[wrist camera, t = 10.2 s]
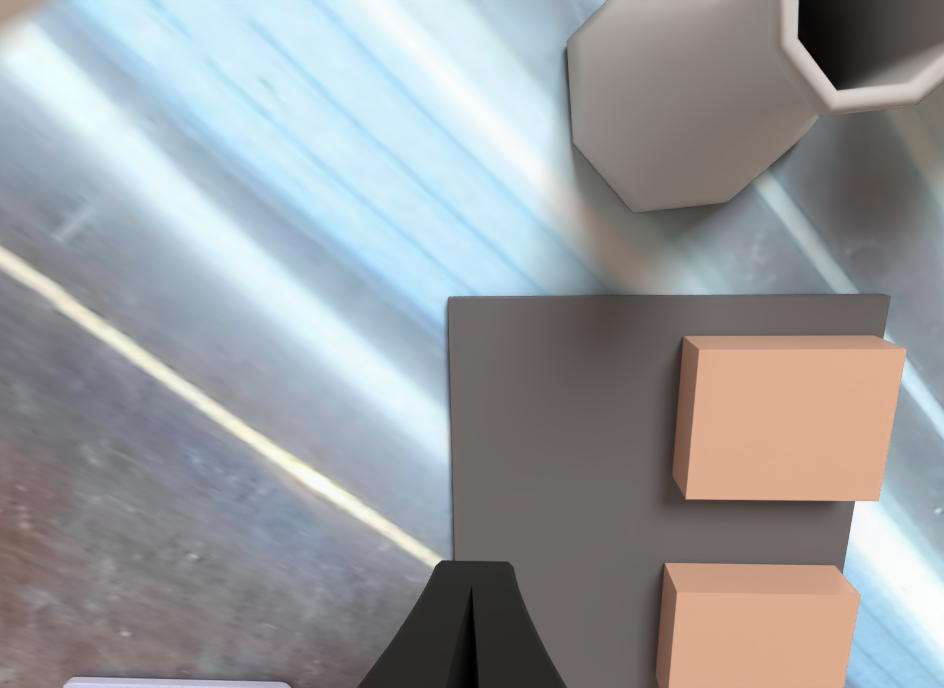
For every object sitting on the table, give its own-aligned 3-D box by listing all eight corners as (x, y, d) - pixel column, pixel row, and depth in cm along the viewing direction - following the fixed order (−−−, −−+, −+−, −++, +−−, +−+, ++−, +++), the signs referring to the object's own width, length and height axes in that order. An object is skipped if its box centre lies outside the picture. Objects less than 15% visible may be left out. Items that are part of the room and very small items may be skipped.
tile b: (685, 499, 19) (878, 501, 19) (699, 349, 18) (906, 349, 18) (671, 474, 21) (848, 475, 21) (682, 335, 20) (872, 334, 19)
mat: (459, 686, 24) (458, 694, 24) (448, 296, 20) (448, 298, 20) (814, 695, 24) (819, 703, 23) (882, 293, 19) (890, 296, 19)
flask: (838, 151, 18) (1207, 126, 9) (614, 250, 20) (724, 323, 10) (765, -97, 17) (1121, -463, 7) (525, 26, 18) (553, -146, 8)
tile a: (666, 711, 22) (838, 715, 21) (677, 592, 20) (860, 595, 20) (654, 673, 23) (814, 677, 23) (663, 561, 22) (833, 563, 22)
